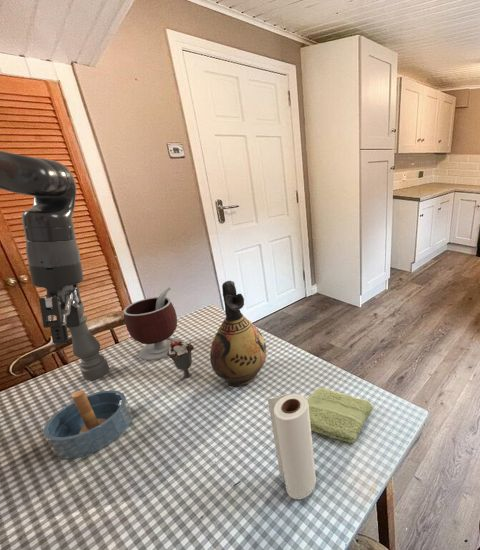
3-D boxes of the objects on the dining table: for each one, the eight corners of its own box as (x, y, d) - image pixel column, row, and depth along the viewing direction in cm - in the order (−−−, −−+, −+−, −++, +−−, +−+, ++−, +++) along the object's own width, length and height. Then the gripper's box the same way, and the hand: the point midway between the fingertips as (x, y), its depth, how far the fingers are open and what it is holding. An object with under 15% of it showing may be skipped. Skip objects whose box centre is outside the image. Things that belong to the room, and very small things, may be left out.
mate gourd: (156, 365, 97) (138, 311, 89) (127, 356, 101) (107, 303, 94) (196, 339, 110) (184, 290, 103) (169, 332, 115) (155, 284, 107)
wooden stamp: (75, 442, 70) (56, 404, 66) (89, 424, 75) (71, 387, 71) (101, 437, 72) (84, 399, 67) (113, 420, 76) (97, 383, 72)
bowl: (37, 468, 66) (24, 446, 63) (79, 415, 79) (70, 396, 76) (115, 453, 69) (105, 432, 66) (143, 405, 82) (136, 386, 79)
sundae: (169, 382, 90) (156, 340, 84) (189, 368, 95) (177, 327, 90) (186, 388, 88) (173, 344, 82) (205, 373, 93) (194, 332, 88)
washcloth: (317, 390, 87) (316, 381, 85) (374, 408, 80) (374, 399, 79) (289, 425, 75) (288, 415, 74) (354, 450, 69) (353, 440, 68)
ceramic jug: (276, 379, 91) (263, 289, 79) (221, 402, 83) (198, 304, 71) (260, 351, 104) (246, 270, 92) (211, 368, 96) (189, 281, 84)
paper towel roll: (321, 489, 61) (313, 409, 53) (292, 507, 58) (279, 424, 50) (307, 461, 67) (298, 384, 59) (280, 475, 64) (267, 397, 56)
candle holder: (106, 364, 98) (78, 294, 88) (113, 372, 94) (84, 300, 85) (81, 375, 93) (49, 302, 84) (87, 383, 90) (54, 309, 80)
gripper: (43, 255, 66) (55, 324, 70) (12, 269, 54) (29, 352, 58) (88, 254, 70) (98, 320, 73) (69, 268, 58) (81, 345, 62)
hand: (67, 334), depth 66 cm, fingers open, 8 cm apart
